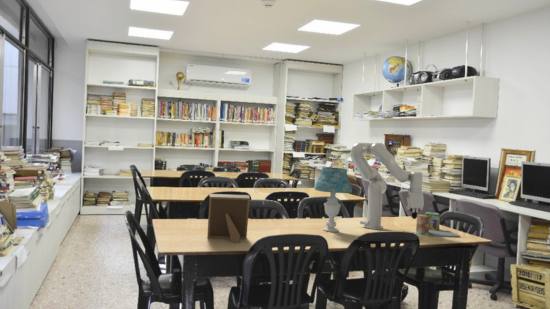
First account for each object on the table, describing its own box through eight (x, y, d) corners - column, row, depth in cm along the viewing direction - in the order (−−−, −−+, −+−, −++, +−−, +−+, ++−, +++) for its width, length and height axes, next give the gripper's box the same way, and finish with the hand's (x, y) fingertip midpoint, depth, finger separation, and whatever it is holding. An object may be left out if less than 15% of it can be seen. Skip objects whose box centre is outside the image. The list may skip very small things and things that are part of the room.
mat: (433, 236, 298) (433, 234, 298) (422, 231, 314) (423, 229, 314) (460, 237, 300) (460, 235, 300) (448, 232, 315) (448, 230, 315)
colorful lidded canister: (439, 231, 316) (440, 209, 315) (425, 230, 318) (426, 208, 317) (437, 229, 325) (438, 208, 325) (423, 227, 327) (425, 206, 326)
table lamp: (355, 230, 303) (359, 169, 301) (339, 236, 283) (343, 170, 281) (322, 225, 316) (326, 166, 314) (305, 230, 296) (309, 167, 294)
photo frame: (207, 236, 263) (209, 192, 262) (245, 237, 267) (248, 193, 265) (207, 242, 249) (210, 196, 247) (248, 243, 252) (250, 197, 251)
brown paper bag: (420, 234, 301) (422, 216, 301) (416, 232, 309) (417, 214, 309) (428, 235, 302) (429, 216, 301) (423, 232, 310) (424, 214, 309)
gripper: (406, 190, 299) (405, 219, 300) (429, 191, 300) (427, 219, 301) (402, 189, 307) (400, 217, 307) (424, 190, 308) (422, 217, 309)
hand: (414, 218), depth 304 cm, fingers closed
